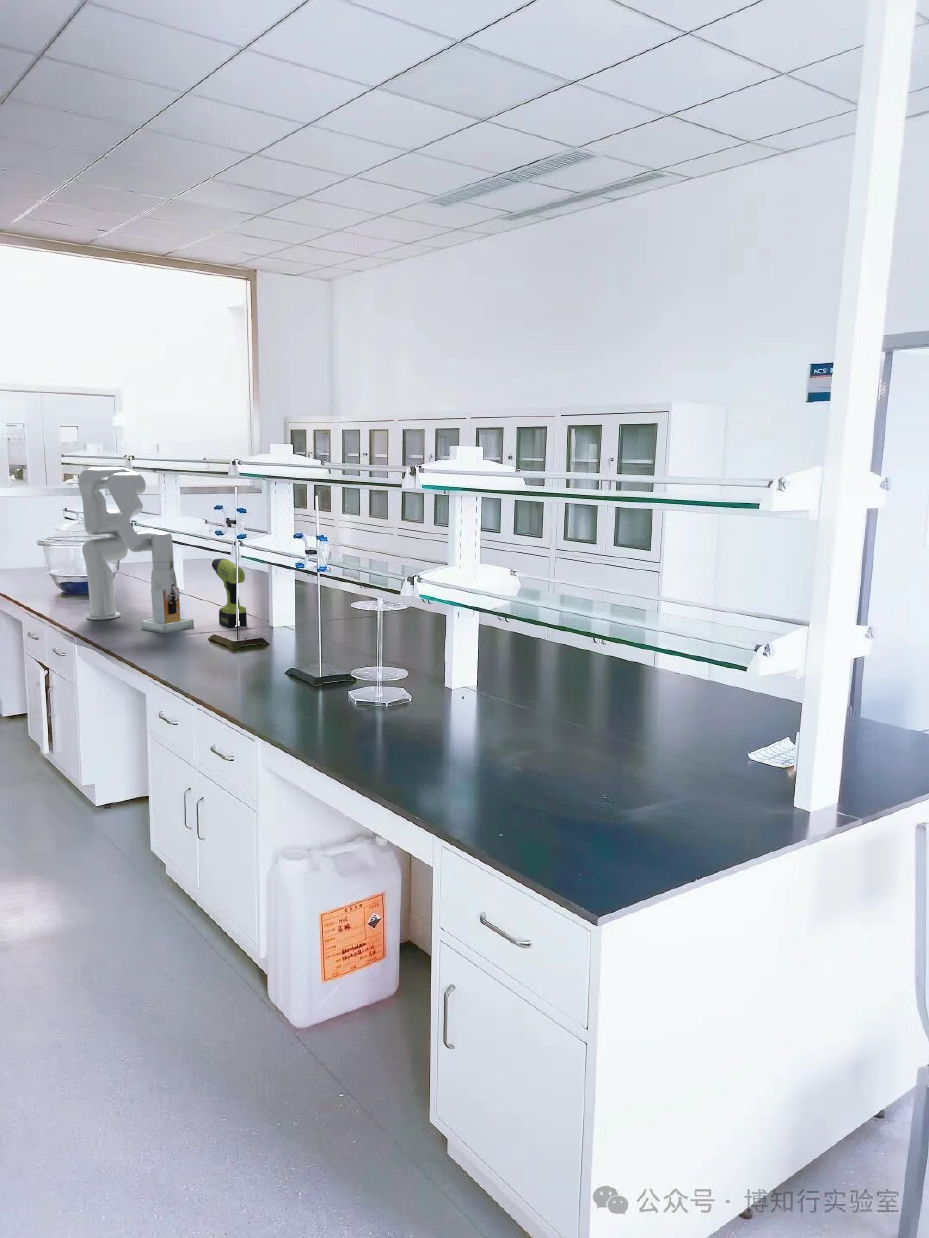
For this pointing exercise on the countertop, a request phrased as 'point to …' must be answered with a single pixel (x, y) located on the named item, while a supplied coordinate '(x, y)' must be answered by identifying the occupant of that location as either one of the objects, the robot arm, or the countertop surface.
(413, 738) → the countertop surface
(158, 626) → the tray
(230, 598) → the cordless drill
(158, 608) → the small box
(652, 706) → the countertop surface
